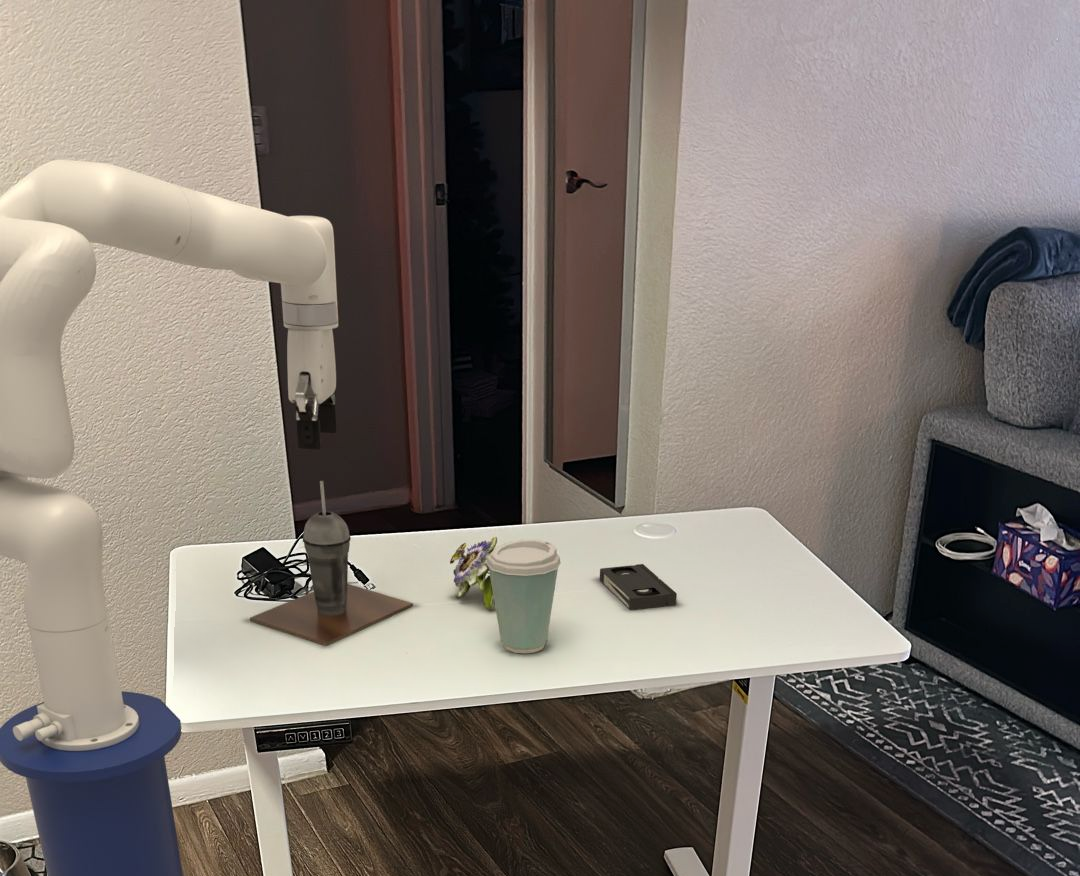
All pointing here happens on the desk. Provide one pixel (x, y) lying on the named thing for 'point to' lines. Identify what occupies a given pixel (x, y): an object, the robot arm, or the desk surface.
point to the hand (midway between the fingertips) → (318, 440)
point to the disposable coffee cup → (523, 592)
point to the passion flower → (474, 569)
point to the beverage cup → (328, 559)
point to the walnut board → (327, 629)
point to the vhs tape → (637, 587)
